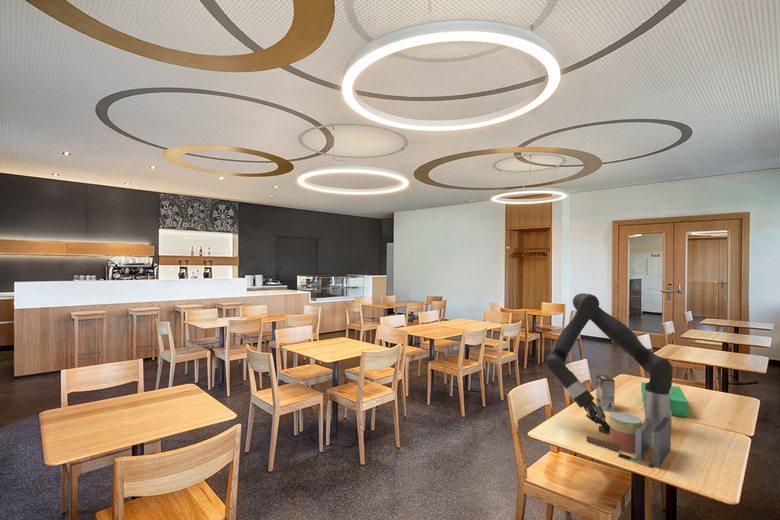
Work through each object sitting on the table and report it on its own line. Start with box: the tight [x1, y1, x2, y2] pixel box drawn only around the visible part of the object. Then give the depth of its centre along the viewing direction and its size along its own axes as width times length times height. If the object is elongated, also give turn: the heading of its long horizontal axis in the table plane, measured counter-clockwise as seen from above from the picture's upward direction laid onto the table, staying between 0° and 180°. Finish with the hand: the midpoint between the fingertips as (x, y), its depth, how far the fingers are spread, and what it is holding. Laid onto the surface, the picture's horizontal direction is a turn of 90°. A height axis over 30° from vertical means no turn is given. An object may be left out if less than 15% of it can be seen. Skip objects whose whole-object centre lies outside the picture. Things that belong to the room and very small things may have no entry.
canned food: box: [609, 411, 643, 454], centre depth 158 cm, size 11×11×12 cm
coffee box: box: [595, 374, 616, 412], centre depth 201 cm, size 9×6×16 cm
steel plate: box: [632, 418, 653, 459], centre depth 152 cm, size 2×21×10 cm, turn 134°
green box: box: [640, 381, 689, 418], centre depth 200 cm, size 18×12×35 cm
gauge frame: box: [586, 417, 672, 469], centre depth 157 cm, size 26×22×13 cm
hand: (609, 430), depth 162 cm, fingers closed
